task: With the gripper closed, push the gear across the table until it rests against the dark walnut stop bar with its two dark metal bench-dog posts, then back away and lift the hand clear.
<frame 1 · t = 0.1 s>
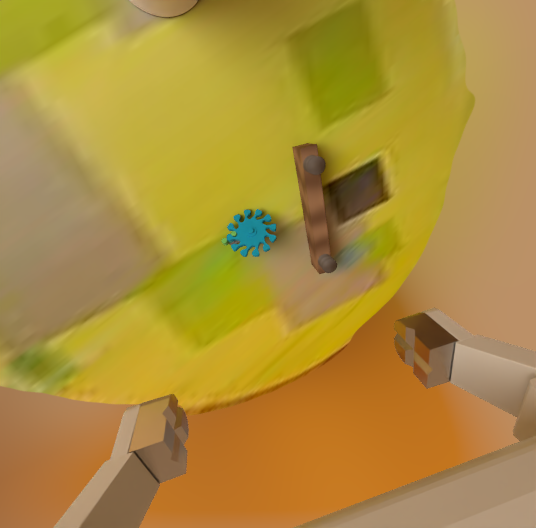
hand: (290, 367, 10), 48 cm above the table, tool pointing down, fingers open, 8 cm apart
stop bar: (309, 209, 59), on the table
gear: (246, 227, 58), on the table
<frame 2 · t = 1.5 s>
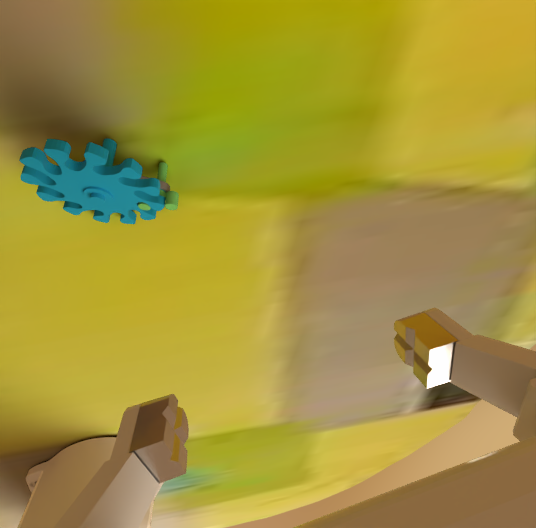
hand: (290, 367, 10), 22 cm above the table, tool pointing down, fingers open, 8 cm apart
gear: (119, 183, 26), on the table
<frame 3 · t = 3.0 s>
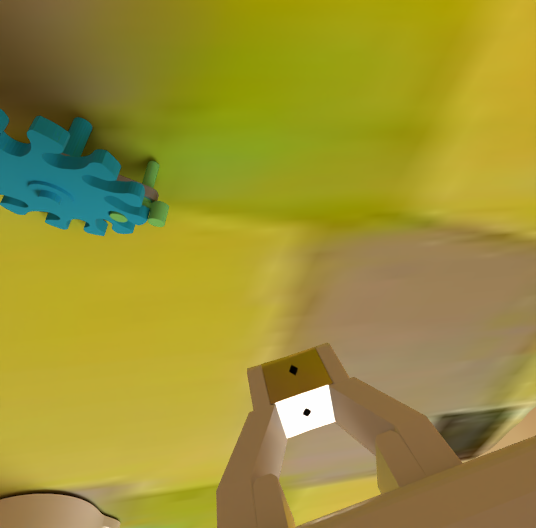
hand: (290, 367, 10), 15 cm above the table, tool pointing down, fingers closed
gear: (90, 179, 19), on the table
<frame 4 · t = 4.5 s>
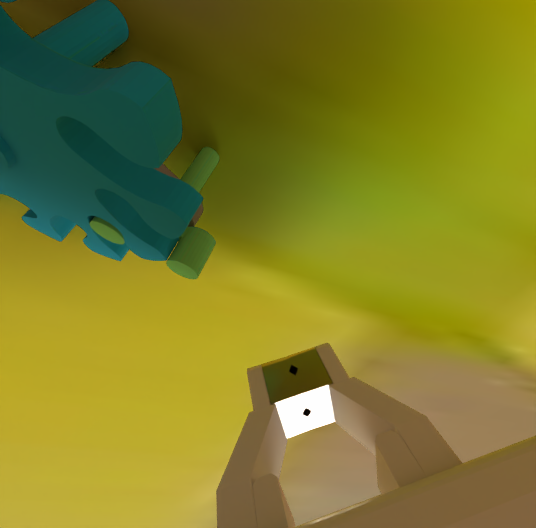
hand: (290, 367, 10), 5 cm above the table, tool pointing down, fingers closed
gear: (79, 131, 10), on the table
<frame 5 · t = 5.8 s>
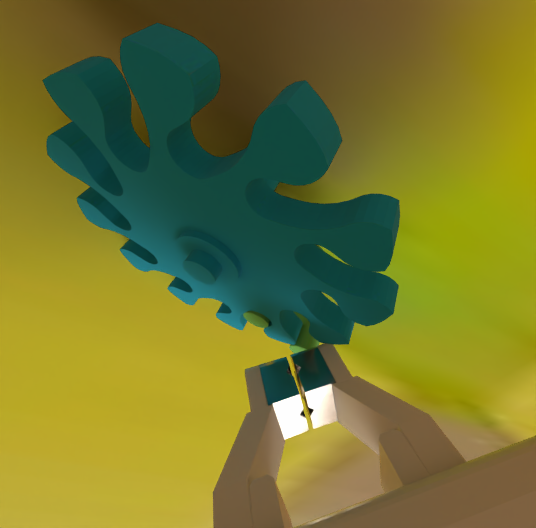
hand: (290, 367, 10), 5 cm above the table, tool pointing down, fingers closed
gear: (222, 220, 12), on the table, touching gripper
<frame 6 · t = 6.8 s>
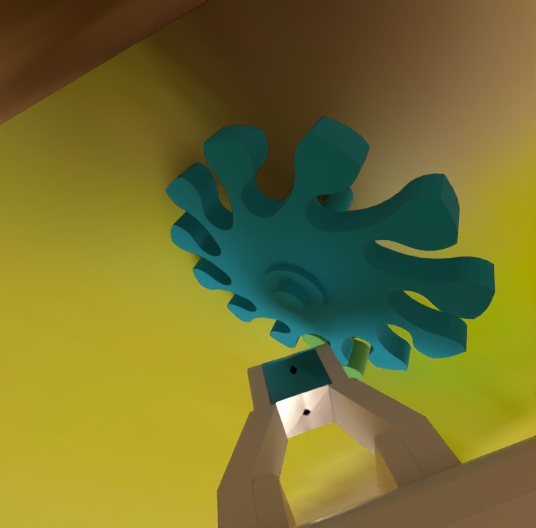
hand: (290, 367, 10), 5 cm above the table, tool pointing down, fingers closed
gear: (280, 246, 13), on the table, touching gripper
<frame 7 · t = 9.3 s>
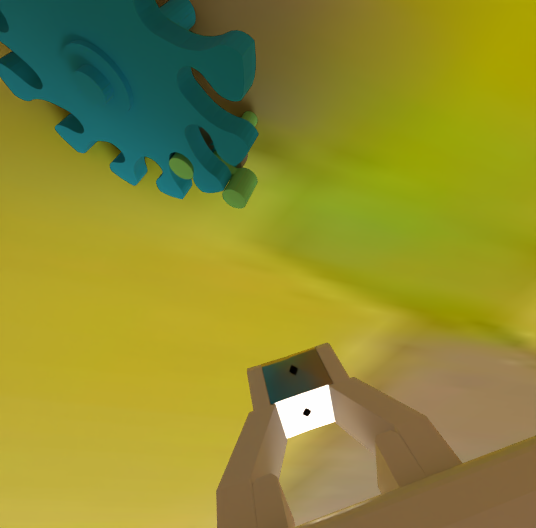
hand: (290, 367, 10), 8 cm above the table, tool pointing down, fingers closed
gear: (151, 98, 12), on the table
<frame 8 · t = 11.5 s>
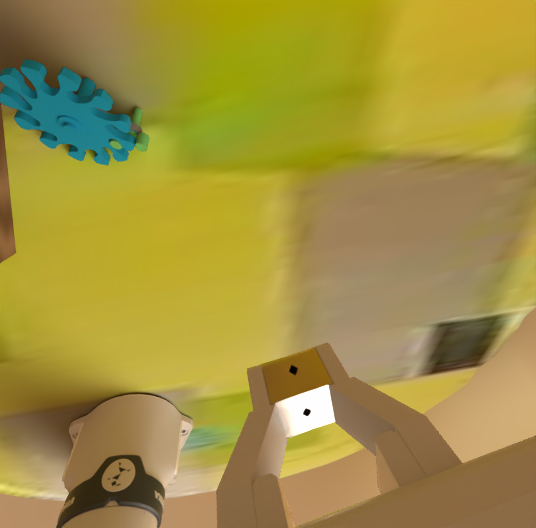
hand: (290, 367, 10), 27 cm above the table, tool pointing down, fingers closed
gear: (96, 124, 28), on the table
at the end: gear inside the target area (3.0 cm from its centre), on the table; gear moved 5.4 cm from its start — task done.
